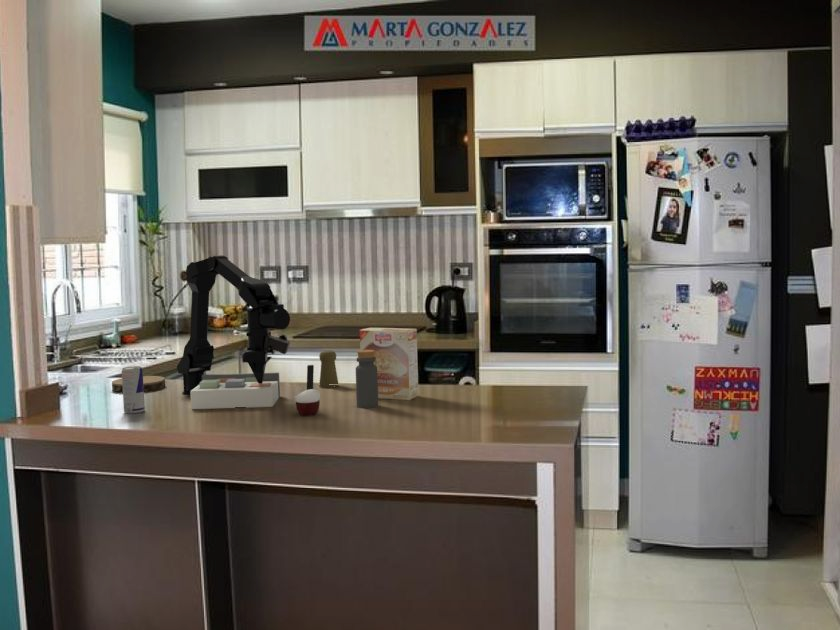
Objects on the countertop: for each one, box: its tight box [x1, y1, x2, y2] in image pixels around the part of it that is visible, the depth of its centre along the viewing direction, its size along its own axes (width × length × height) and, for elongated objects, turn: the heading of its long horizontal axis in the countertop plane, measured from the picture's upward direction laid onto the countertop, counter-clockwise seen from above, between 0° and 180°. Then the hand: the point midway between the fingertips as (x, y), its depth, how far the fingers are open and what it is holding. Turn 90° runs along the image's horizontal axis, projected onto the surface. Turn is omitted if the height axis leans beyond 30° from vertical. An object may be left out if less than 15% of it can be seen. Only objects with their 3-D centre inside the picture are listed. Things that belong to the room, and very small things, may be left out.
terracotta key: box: [251, 383, 270, 387], centre depth 233 cm, size 5×5×4 cm
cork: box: [318, 349, 339, 389], centre depth 257 cm, size 6×6×11 cm
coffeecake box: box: [359, 327, 419, 401], centre depth 236 cm, size 15×7×20 cm, turn 68°
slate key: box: [225, 379, 245, 388], centre depth 233 cm, size 5×5×4 cm
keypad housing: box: [190, 372, 281, 410], centre depth 234 cm, size 22×15×7 cm
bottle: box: [355, 349, 379, 409], centre depth 224 cm, size 6×6×15 cm
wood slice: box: [111, 375, 166, 394], centre depth 262 cm, size 16×16×3 cm
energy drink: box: [121, 365, 146, 415], centre depth 225 cm, size 5×5×12 cm
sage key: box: [200, 379, 220, 389], centre depth 232 cm, size 5×5×4 cm
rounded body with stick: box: [294, 364, 321, 417], centre depth 216 cm, size 10×6×12 cm, turn 153°
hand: (260, 383), depth 233 cm, fingers closed
